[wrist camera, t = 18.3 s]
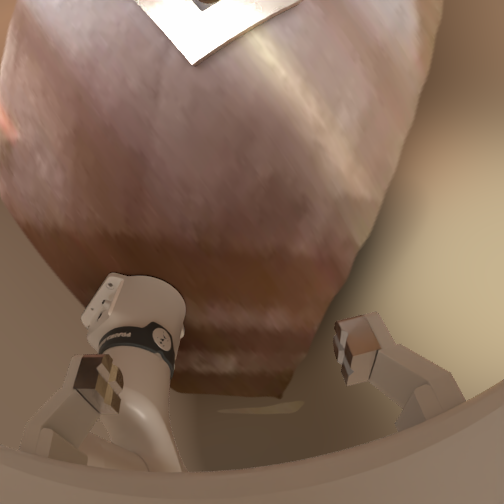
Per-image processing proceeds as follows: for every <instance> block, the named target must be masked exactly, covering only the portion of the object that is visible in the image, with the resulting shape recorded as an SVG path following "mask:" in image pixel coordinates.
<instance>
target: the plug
mask: <svg viewBox="0 0 504 504" xmlns="http://www.w3.org/2000/svg"><path fill="white" fill-rule="evenodd" d="M199 1H201V2H203V3H214V2H217V1H219V0H199Z"/></svg>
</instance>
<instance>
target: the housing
mask: <svg viewBox="0 0 504 504" xmlns="http://www.w3.org/2000/svg"><path fill="white" fill-rule="evenodd" d="M135 1H136V2H137V4H138V5H139V6H140V7H141V8H142V9H143V10H144V11H145V12H146V13H147V14H148V15H149V16H150V17H151V19H152V20H153V21H154V22H155V23H156V24H157V25H158V26H159V27H160V28H161V30H162V31H163V32H164V33H165V34H166V35H167V36H168V37H169V39H170V40H171V41H172V42H173V43H174V44H175V45H176V47H177V48H178V49H179V50H180V51H181V52H182V54H183V55H184V56H185V57H186V58H187V59H188V61H189V62H190V63H191V64H192V65H193V66H197V65H198V64H199V63H201V62H202V61H204V60H205V59H206V58H208V57H209V56H211V55H212V54H214V53H215V52H217V51H218V50H220V49H221V48H223V47H224V46H226V45H227V44H229V43H230V42H232V41H234V40H235V39H237V38H238V37H240V36H242V35H243V34H245V33H247V32H248V31H250V30H252V29H253V28H255V27H257V26H259V25H260V24H262V23H264V22H266V21H268V20H269V19H271V18H273V17H275V16H277V15H279V14H281V13H283V12H285V11H287V10H289V9H291V8H293V7H295V6H297V5H298V4H299V3H300V2H302V1H303V0H221V1H219V2H217V3H216V4H214V5H212V6H211V7H209V8H208V9H206V10H204V11H203V12H201V10H200V9H199V8H198V7H197V6H196V5H195V4H194V3H193V2H192V1H191V0H135Z"/></svg>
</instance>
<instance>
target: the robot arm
mask: <svg viewBox="0 0 504 504" xmlns="http://www.w3.org/2000/svg"><path fill="white" fill-rule="evenodd" d="M110 283H111V284H110ZM185 314H186V306H185V302H184V300H183V298H182V296H181V295H180V294H179V292H178V291H177V290H176V289H175V288H173V287H172V286H171V285H169V284H168V283H166V282H164V281H162V280H160V279H157V278H154V277H149V276H125V275H122V274H118V273H110V274H109V275H108V276H107V277H106V279H105V280H104V282H103V283H102V285H101V286H100V288H99V289H98V291H97V292H96V294H95V295H94V297H93V298H92V300H91V301H90V303H89V304H88V306H87V307H86V309H85V310H84V312H83V314H82V316H81V320H82V322H83V324H84V326H85V327H86V328H87V329H88V333H87V340H88V342H89V344H90V345H91V346H92V348H93V349H94V350H96V351H97V352H98V353H99V354H89V355H88V354H87V355H86V354H85V355H74V356H73V357H72V359H71V361H70V364H69V367H68V370H67V374H66V377H65V380H64V383H63V386H62V389H58V390H57V391H56V392H55V393H54V394H53V395H52V396H51V398H49V400H48V401H47V402H46V403H45V404H44V405H43V406H42V407H41V408H40V409H39V410H38V411H37V412H36V413H35V414H34V415H33V417H32V418H31V419H30V420H29V421H28V422H27V423H26V426H25V429H24V433H23V436H22V440H21V444H20V449H19V450H17V449H14V448H10V447H7V446H4V445H1V444H0V504H504V379H503V380H502V381H500V382H499V383H497V384H495V385H494V386H492V387H490V388H489V389H487V390H485V391H484V392H482V393H480V394H479V395H477V396H475V397H473V398H471V399H469V400H467V401H466V400H465V398H464V396H463V394H462V392H461V391H460V389H459V387H458V385H457V383H456V381H455V380H454V378H453V376H452V374H451V373H450V372H448V371H447V370H445V369H443V368H441V367H439V366H438V365H436V364H434V363H433V362H431V361H429V360H427V359H425V358H424V357H422V356H420V355H419V354H417V353H415V352H413V351H412V350H410V349H408V348H406V347H405V346H403V345H401V344H397V345H396V343H395V342H394V340H393V338H392V336H391V335H390V333H389V331H388V329H387V327H386V325H385V324H384V322H383V320H382V318H381V317H380V315H379V313H377V312H372V313H368V314H364V315H359V316H355V317H351V318H347V319H343V320H339V321H336V322H335V327H334V329H335V331H336V335H335V336H334V338H333V339H334V340H333V346H334V352H335V356H336V359H337V361H338V362H339V363H340V364H342V369H341V372H342V375H343V378H344V380H345V383H346V386H349V385H354V384H358V383H361V382H365V381H369V382H370V383H371V384H373V385H374V386H375V387H376V388H378V390H380V391H381V392H383V393H384V394H385V395H386V396H387V397H389V398H390V399H391V400H392V401H394V402H395V403H396V404H397V405H399V406H400V407H401V408H402V409H403V411H402V412H401V414H400V416H399V417H398V419H397V420H396V422H395V425H396V428H397V430H398V432H397V433H394V434H391V435H389V436H386V437H383V438H380V439H377V440H374V441H371V442H368V443H365V444H362V445H359V446H355V447H352V448H348V449H344V450H341V451H338V452H334V453H330V454H325V455H322V456H317V457H312V458H308V459H303V460H299V461H293V462H287V463H282V464H276V465H269V466H262V467H255V468H246V469H238V470H225V471H210V472H188V471H187V469H186V467H185V466H184V463H183V461H182V459H181V457H180V454H179V451H178V449H177V446H176V443H175V440H174V436H173V433H172V428H171V424H170V417H169V395H170V393H169V392H170V380H171V378H172V377H173V372H174V369H175V359H176V356H177V351H178V347H179V342H180V338H182V337H183V336H184V333H185V329H184V325H183V321H184V318H185ZM98 419H100V421H101V422H102V424H103V425H104V427H105V428H106V430H107V432H108V434H109V436H110V439H111V442H109V441H107V440H105V439H103V438H101V437H99V436H98V435H96V434H93V433H91V432H90V430H91V429H92V427H93V426H94V424H95V423H96V421H97V420H98Z"/></svg>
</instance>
